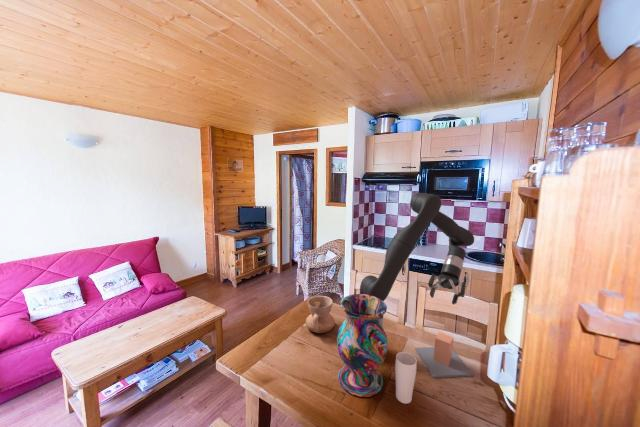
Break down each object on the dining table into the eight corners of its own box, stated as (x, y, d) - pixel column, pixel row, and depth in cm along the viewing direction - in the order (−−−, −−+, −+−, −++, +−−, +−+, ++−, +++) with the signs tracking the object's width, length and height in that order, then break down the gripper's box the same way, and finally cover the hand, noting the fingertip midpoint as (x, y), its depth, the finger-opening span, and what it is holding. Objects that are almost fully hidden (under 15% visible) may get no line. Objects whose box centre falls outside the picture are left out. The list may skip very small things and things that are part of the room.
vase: (371, 410, 82) (376, 324, 78) (326, 382, 93) (327, 305, 89) (393, 375, 97) (397, 302, 92) (351, 355, 108) (353, 288, 103)
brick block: (447, 366, 101) (450, 343, 99) (433, 360, 104) (435, 338, 103) (451, 359, 105) (453, 337, 103) (437, 353, 108) (439, 331, 107)
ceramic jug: (312, 316, 137) (311, 291, 135) (338, 320, 133) (338, 295, 131) (299, 336, 120) (299, 308, 118) (329, 342, 116) (329, 313, 114)
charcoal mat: (433, 377, 96) (433, 375, 96) (414, 349, 112) (415, 347, 112) (473, 376, 97) (473, 374, 97) (449, 348, 113) (449, 346, 113)
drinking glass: (390, 390, 90) (392, 351, 88) (408, 389, 91) (411, 351, 88) (397, 407, 83) (400, 366, 81) (417, 406, 84) (420, 365, 82)
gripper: (434, 259, 117) (423, 290, 110) (469, 267, 108) (459, 302, 100) (436, 268, 121) (426, 298, 114) (470, 276, 112) (461, 309, 105)
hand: (442, 300), depth 107 cm, fingers open, 8 cm apart
